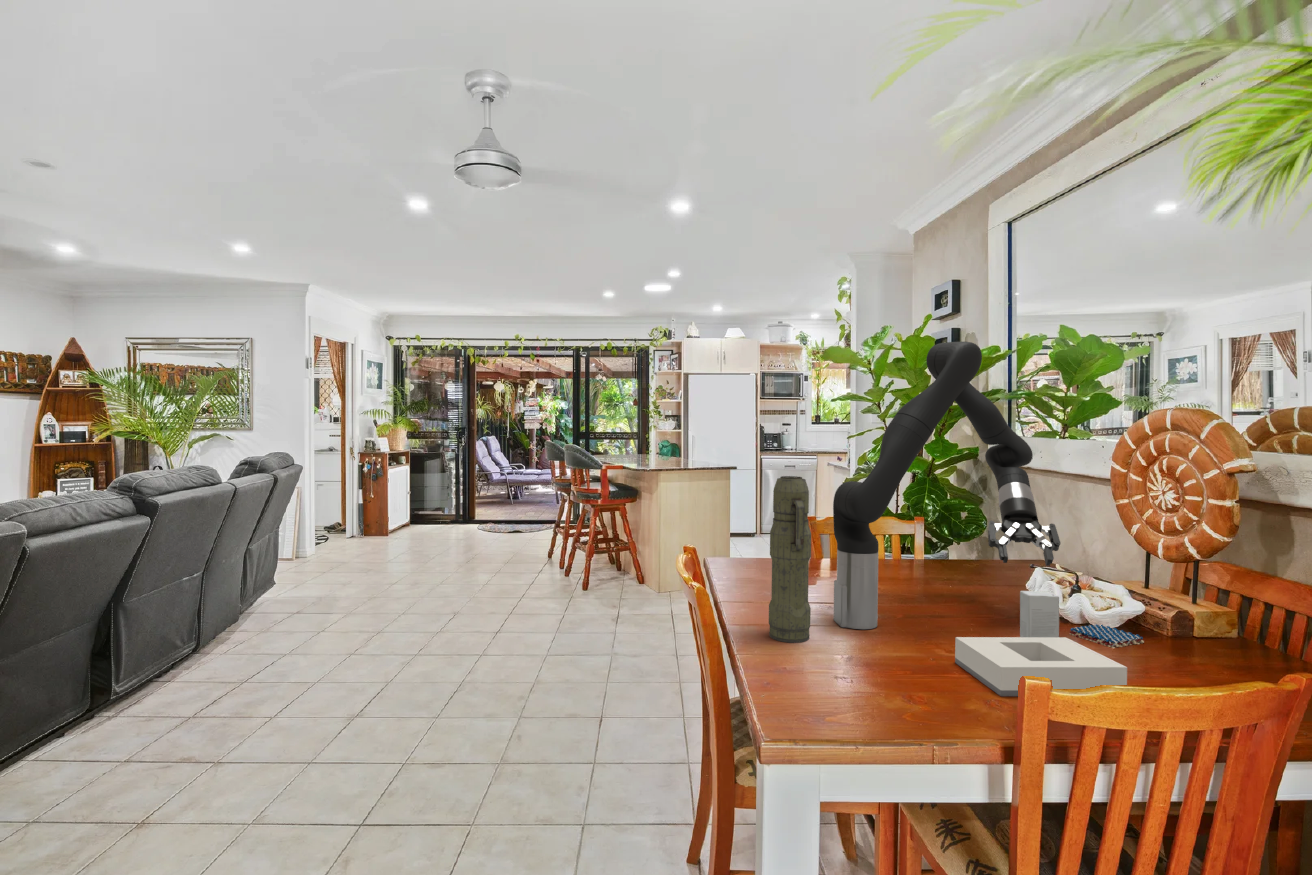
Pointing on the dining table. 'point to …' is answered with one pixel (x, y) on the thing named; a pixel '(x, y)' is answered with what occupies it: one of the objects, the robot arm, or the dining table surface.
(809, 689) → the dining table surface
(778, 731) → the dining table surface
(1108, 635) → the woven mat
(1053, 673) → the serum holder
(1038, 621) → the skincare box
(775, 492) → the thermos
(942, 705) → the dining table surface
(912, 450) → the robot arm
